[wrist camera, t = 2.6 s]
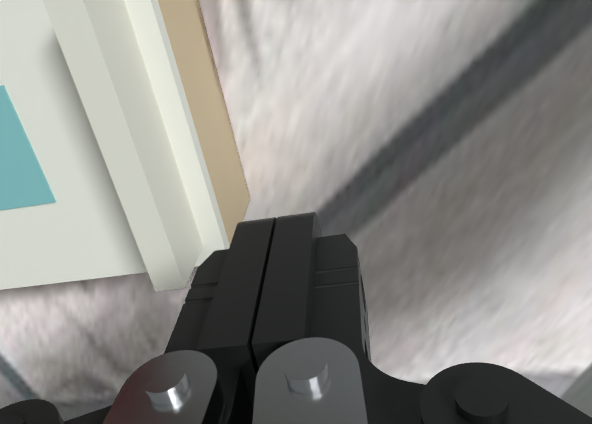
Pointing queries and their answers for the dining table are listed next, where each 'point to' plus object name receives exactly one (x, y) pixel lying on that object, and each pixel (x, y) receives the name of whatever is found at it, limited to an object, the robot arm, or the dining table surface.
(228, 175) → the open tan box
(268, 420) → the robot arm
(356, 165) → the dining table surface
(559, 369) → the dining table surface
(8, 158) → the lid
